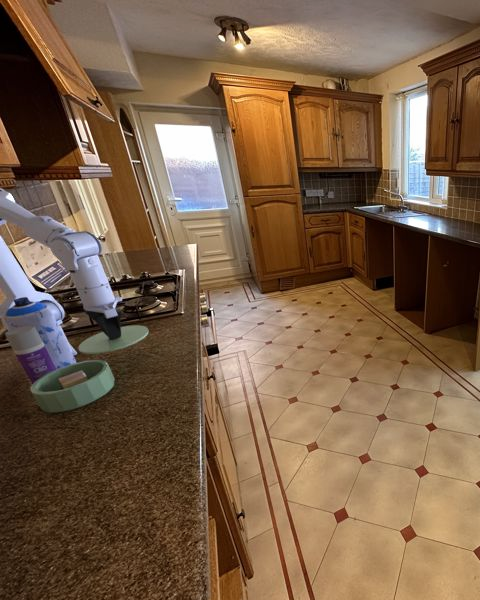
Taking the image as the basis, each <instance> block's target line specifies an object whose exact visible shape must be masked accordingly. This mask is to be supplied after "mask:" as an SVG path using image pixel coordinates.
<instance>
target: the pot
mask: <svg viewBox="0 0 480 600" xmlns="http://www.w3.org/2000/svg"><path fill="white" fill-rule="evenodd" d="M81 370H82V371H83V373H84V374H85V375H86V377H87V379H88V380H87V381H85V382H83V383H80V384H78V385H75V386H73V387H70V388H66V389H63V387H62V385H61V383H60V381H59V380H58V379H59V378H62V377H65V376H68V375H70V374H73V373H76V372H78V371H81ZM115 380H116V379H115V377H114V375H113V372H112V370H111V368H110V365H109V364H108V363H107V362H106V361H105V360H102V359H90V360H89V359H88V360H82V361H79V362H76V363H74V364H70V365H67V366H65V367H62V368H59V369H56V370H54V371H52V372H50V373H48V374H46V375H44V376H43V377H41V378H40V379H38V380H37V381H35V382H34V383H33V385H32V384H31V386H30V388H29V390H30V392H31V394H32V396H33V398H34V400H35V401H36V403H37V405H38V406H39V408H40V410H42V411H43V412H45V413H52V414H54V413H61V412H67V411H71V410H72V411H73V410H75V409H78V408H81V407H83V406H86V405H88V404H90V403H93V402H95V401H97V400H98V399H100V398H102V397H103V396H105V395H106V394H108V393H109V392H110V391H111V390H112V389H113V388H114V386H115V384H116V382H115Z"/></svg>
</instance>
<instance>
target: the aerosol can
mask: <svg viewBox="0 0 480 600" xmlns="http://www.w3.org/2000/svg"><path fill="white" fill-rule="evenodd" d="M14 303H15V305H14V306H12V307H11V308H10V309H8V311H7V313H6V314H5V315H4V317H5V321H6V323H7V325H8V326H9V328H10V330H12V329H15V328H18V327H23V326H34V327H35V329H36V331H37V332H38V334H39V336H40V338H41V339H42V341H43V343H44V345H45V346H46V348H47V350H48V352H49V354H50V356H51V358H52V360H53V362H54V364H55V366H56V368H57V369H59V368H62V367H65V366H67V365H70V364H74V363H77V361H76V358H75V355H73V354H72V352H71V350H70V348H69V346H68V344H67V342H66V340H65V338H64V336H63V334H62V331H61V329H60V327H59V325H58V323H57V321H56V319H55V317H54V315H53V313H52V311H51V309H50V308H49V307H48V306H47V305H44V304H42V303H40V302H34V301H29V299H28V298H27V297H22V298H19V299H15V300H14Z"/></svg>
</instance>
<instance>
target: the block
mask: <svg viewBox="0 0 480 600" xmlns="http://www.w3.org/2000/svg"><path fill="white" fill-rule="evenodd" d="M58 380H59V381H60V383H61V385H62V389H66V388H70V387H73V386H75V385H78V384H80V383H83V382H85V381H87V380H89V378H87V377H86V375H85V374H84V373H83V371H82V370H81V371H78V372H76V373H73V374H70V375H68V376H65V377H62V378H59V379H58Z"/></svg>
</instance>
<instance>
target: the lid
mask: <svg viewBox="0 0 480 600" xmlns="http://www.w3.org/2000/svg"><path fill="white" fill-rule="evenodd" d="M149 331H150V330H149V328H148V327H147V326H144V325H139V324H138V325H126V326H121V337H118V338H115V339H112V340H111V339H110V338H109V337H108V336H106V335H105V334H104V332H103V331H102V332H99V333H97V334H94V335H92V336H90V337H88V338H85V340H83V341H82V342H81V343H80V344H79V345H78V351H79V352H80V353H82V354H85V355H98V354H105V353H106V354H107V353H111V352H115V351H118V350H122V349H124V348H127V347H130V346H132V345H134V344H137V343H138V342H140V341H142V340H144V339H145V338H146V337H148V335H149Z"/></svg>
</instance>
